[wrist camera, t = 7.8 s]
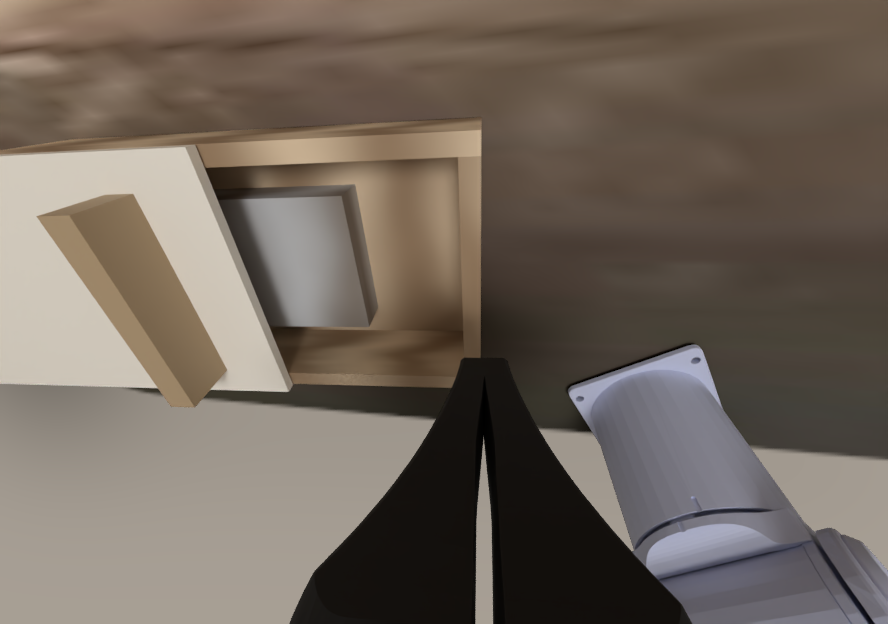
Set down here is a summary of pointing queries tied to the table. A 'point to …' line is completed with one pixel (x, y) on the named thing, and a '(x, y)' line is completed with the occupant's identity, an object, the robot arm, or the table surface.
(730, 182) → the table surface
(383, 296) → the mailer box
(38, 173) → the mailer lid
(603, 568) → the robot arm
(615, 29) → the table surface
